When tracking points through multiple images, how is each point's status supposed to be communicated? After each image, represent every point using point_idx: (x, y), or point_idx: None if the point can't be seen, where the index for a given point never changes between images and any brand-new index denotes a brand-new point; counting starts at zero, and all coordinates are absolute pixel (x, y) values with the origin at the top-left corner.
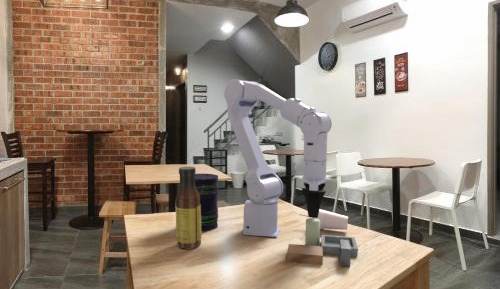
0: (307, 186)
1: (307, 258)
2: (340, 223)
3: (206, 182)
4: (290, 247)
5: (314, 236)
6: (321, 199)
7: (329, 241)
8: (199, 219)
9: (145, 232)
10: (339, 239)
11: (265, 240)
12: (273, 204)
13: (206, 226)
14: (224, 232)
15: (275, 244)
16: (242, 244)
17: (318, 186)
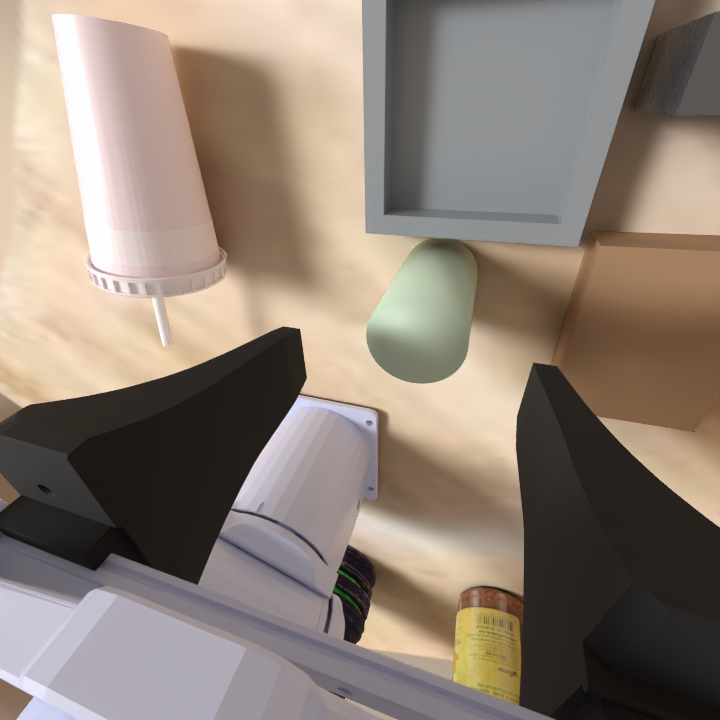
0: (197, 553)
1: None
2: (164, 93)
3: None
4: (608, 407)
5: (474, 292)
6: (712, 524)
7: (392, 176)
8: (510, 693)
9: (411, 640)
10: (388, 105)
11: (415, 443)
12: (303, 533)
13: (361, 571)
14: (365, 528)
15: (455, 419)
16: (469, 505)
17: (149, 482)
